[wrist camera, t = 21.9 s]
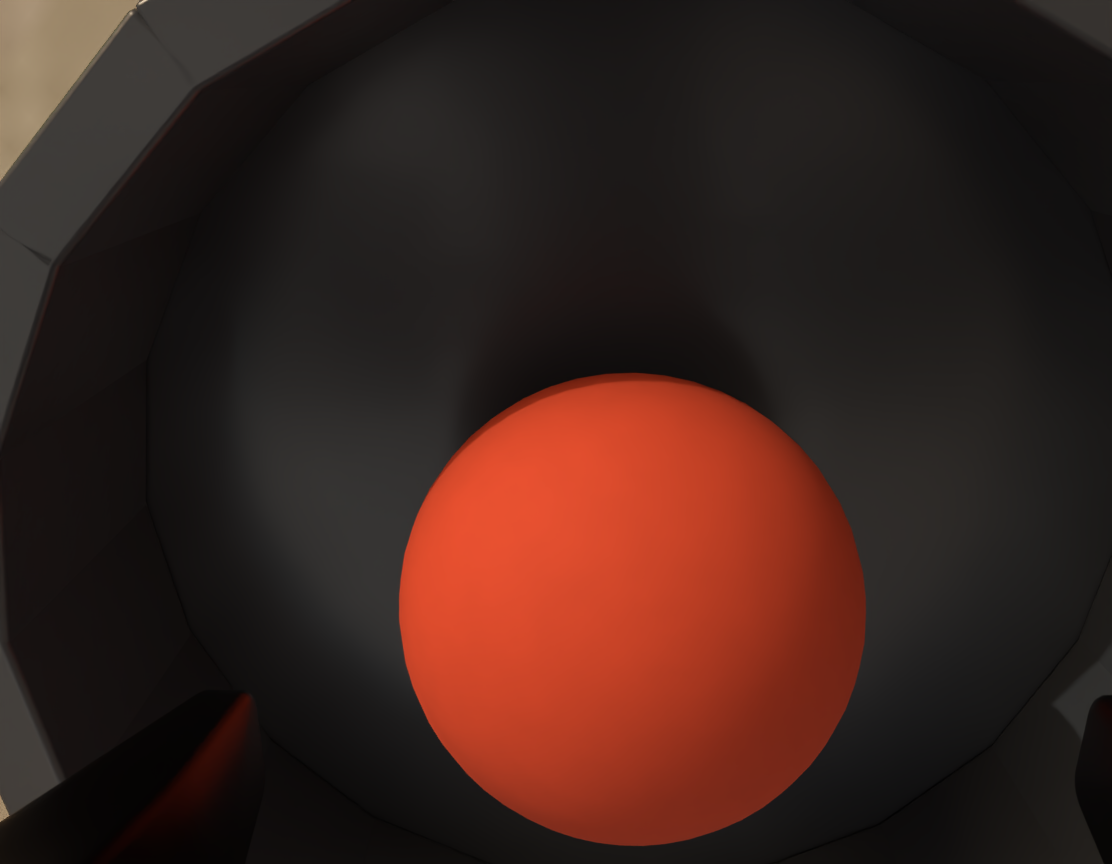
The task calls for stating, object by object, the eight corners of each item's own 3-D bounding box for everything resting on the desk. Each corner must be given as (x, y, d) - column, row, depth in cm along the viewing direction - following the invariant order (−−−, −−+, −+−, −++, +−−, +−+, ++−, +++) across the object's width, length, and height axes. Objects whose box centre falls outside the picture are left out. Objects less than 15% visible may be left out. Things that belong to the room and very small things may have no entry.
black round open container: (619, 1029, 17) (631, 1290, 13) (-104, 489, 14) (-354, 643, 10) (1391, 493, 13) (1704, 656, 10) (655, -446, 10) (701, -754, 6)
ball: (627, 720, 14) (614, 1039, 10) (375, 493, 13) (225, 726, 9) (904, 512, 13) (1048, 775, 8) (640, 238, 12) (629, 356, 7)
